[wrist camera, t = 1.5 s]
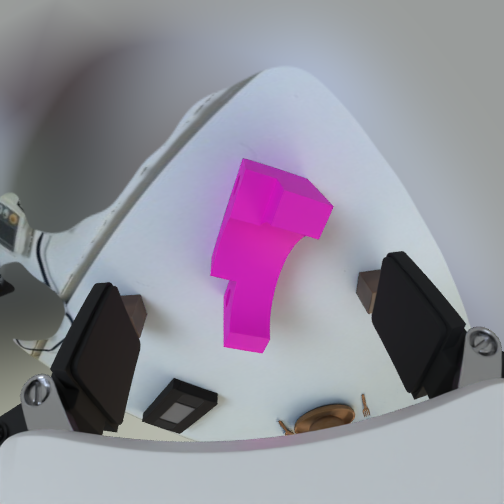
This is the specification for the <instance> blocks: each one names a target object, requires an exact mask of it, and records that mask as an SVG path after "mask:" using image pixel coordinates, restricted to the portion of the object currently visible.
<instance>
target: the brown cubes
mask: <svg viewBox="0 0 504 504" xmlns="http://www.w3.org/2000/svg"><path fill="white" fill-rule="evenodd" d="M380 272H381V269H380V270H373V271H366V272H359V277H358V284H357V290H356V294H357V295H358V297H359V299H360V301H361V302H362V304H363V306H364V308H365V309H366V311H367V313H368V314H370V313H372V312H373V307H374V302H375V298H376V293H377V288H378V283H379V278H380ZM121 298H122V301H123V303H124V306H125V308H126V311H127V313H128V315H129V318H130V320H131V322H132V325H133V327H134V329H135V331H136V333H137V336H138V338H140V336H141V333H142V330H143V326H144V323H145V320H146V316H147V313H146V310H145V307H144V304H143V302H142V299H141V296H140V295H126V296H121Z"/></svg>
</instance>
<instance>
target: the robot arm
mask: <svg viewBox="0 0 504 504" xmlns="http://www.w3.org/2000/svg"><path fill="white" fill-rule="evenodd" d="M372 323H373V325H374V327H375V329H376V331H377V333H378V335H379V337H380V338H381V340H382V342H383V344H384V346H385V348H386V350H387V352H388V354H389V356H390V358H391V360H392V362H393V364H394V366H395V368H396V370H397V372H398V374H399V376H400V378H401V380H402V383H403V385H404V387H405V389H406V391H407V392H408V393H411V394H412V396H413V398H414V400H415V399H417V398H420V397H423V396H426V395H428V397H429V400H426V401H424V402H421V403H418V404H415V405H412V406H409V407H406V408H403V409H400V410H397V411H394V412H390V413H387V414H384V415H380V416H377V417H373V418H370V419H366V420H362V421H358V422H354V423H350V424H346V425H341V426H337V427H332V428H327V429H322V430H317V431H311V432H305V433H299V434H293V435H286V436H278V437H270V438H260V439H249V440H235V441H212V442H176V441H175V442H174V441H154V440H140V439H130V438H120V437H110V436H103V435H102V434H103V430H104V431H112V432H117V429H118V425H121V424H122V422H123V418H124V413H125V409H126V405H127V400H128V396H129V391H130V387H131V383H132V379H133V375H134V371H135V367H136V363H137V359H138V356H139V352H140V340H139V338H138V336H137V333H136V331H135V329H134V327H133V325H132V322H131V320H130V318H129V315H128V313H127V311H126V308H125V306H124V303H123V301H122V298H121V296H120V293H119V291H118V289H117V287H116V286H113V285H112V284H111V283H110V282H107V283H96V284H95V285H94V286H93V288H92V289H91V291H90V293H89V295H88V296H87V298H86V300H85V302H84V303H83V305H82V307H81V309H80V311H79V312H78V314H77V316H76V318H75V320H74V322H73V324H72V325H71V327H70V329H69V331H68V333H67V335H66V337H65V339H64V341H63V343H62V345H61V347H60V349H59V351H58V353H57V355H56V357H55V360H54V362H53V364H52V366H51V368H50V369H51V371H52V372H53V373H52V376H51V377H50V376H49V375H46V374H38V375H35V376H33V377H31V378H30V379H29V380H28V381H27V382H26V383H25V384H24V386H23V388H22V390H21V394H20V397H21V404H19V405H17V406H16V407H15V408H13V409H11V410H10V411H8V412H7V413H5V414H4V415H2V416H0V504H504V352H503V351H502V349H501V348H502V347H501V342H500V341H499V338H498V337H497V336H496V335H495V333H493V332H492V331H490V330H489V329H487V328H484V327H473V328H471V329H469V330H468V332H467V331H466V330H465V329H464V327H465V325H466V323H465V322H464V321H463V319H462V318H461V317H460V316H459V314H458V313H457V312H456V311H455V309H454V308H453V307H452V306H451V304H450V303H449V302H448V301H447V300H446V298H445V297H444V296H443V295H442V294H441V292H440V291H439V290H438V289H437V288H436V286H435V285H434V284H433V283H432V282H431V281H430V280H429V278H428V277H427V276H426V275H425V274H424V273H423V272H422V271H421V269H420V268H419V267H418V266H417V265H416V264H415V263H414V262H413V261H412V260H411V258H410V257H409V256H408V255H407V254H406V253H405V252H403V251H400V252H392V253H388V254H387V256H386V257H385V258H384V259H383V261H382V266H381V272H380V278H379V283H378V288H377V293H376V298H375V302H374V307H373V312H372Z"/></svg>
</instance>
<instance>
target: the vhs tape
mask: <svg viewBox="0 0 504 504" xmlns="http://www.w3.org/2000/svg"><path fill="white" fill-rule="evenodd" d="M216 405H217V393H214V392H211V391H208V390H205V389H202V388H199V387H196V386H193V385H190V384H188V383H185V382H182V381H180V380H177V379H175V378H174V379H173V380H172V381H171V382H170V383H169V384H168V386H167V387H166V388H165V389H164V390H163V391H162V392H161V394H160V395H159V396H158V397H157V398H156V399H155V400H154V402H153V403H152V404H151V405H150V406H149V407H148V408H147V410H146V411H145V412H144V413H143V419H142V422H145V423H148V424H151V425H154V426H157V427H160V428H163V429H166V430H169V431H172V432H176V433H179V434H180V433H182V432H183V431H184V430H186V429H187V428H188V427H190V426H191V425H192V424H193V423H195V422H196V421H197V420H199V419H200V418H201V417H202V416H204V415H205V414H206V413H207V412H209V411H210V410H211V409H212V408H213V407H215V406H216Z"/></svg>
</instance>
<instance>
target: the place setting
mask: <svg viewBox="0 0 504 504" xmlns="http://www.w3.org/2000/svg"><path fill="white" fill-rule="evenodd" d="M362 400H363V405H364V410H363V414H364V411H365V410H366V411H367V409H368V408H367V407H366V402H365V397H364V395H362ZM366 411H365V415H366ZM368 412H369V409H368ZM368 412H367V415H368ZM365 415H364V417H365ZM369 415H370V412H369ZM366 417H367V416H366ZM354 418H355V413H354V410H353V409H352V408H351V407H349V406H346V405H340V404H336V405H327V406H323V407H319V408H316V409H314V410H311V411H309V412H308V413H306V414H304V415H303V416H301V417H300V418H299V419H298V420H297V422H296V423H295V426H294V430H295V433H296V434H299V433H305V432H311V431H317V430H322V429H327V428H332V427H337V426H341V425H346V424H350V423H351V422H352V421H353V419H354ZM278 422H279V424H280V425H281V426H282V428H283V429H284V430H285V431H286V433H285V436H286V435H293V434H294V433H293V432H291V431H288V430H287V429H286V427H285V426H284V424H283V423H282V422H281V421H278Z"/></svg>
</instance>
